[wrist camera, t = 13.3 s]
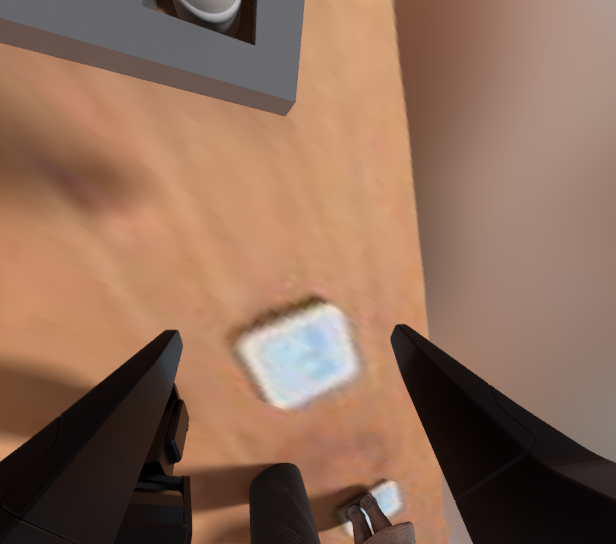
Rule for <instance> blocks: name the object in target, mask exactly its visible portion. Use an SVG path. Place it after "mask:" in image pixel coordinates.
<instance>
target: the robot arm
mask: <svg viewBox="0 0 616 544" xmlns="http://www.w3.org/2000/svg"><path fill="white" fill-rule="evenodd" d="M390 340H391V344H392V348H393V351H394V354H395V357H396V360H397V364H398V367H399V370H400V373H401V376H402V378H403V381H404V383H405V385H406V388H407V390H408V392H409V395H410V397H411V399H412V402H413V404H414V406H415V409H416V411H417V413H418V416H419V418H420V420H421V423H422V425H423V427H424V430H425V432H426V434H427V437H428V439H429V441H430V444H431V446H432V448H433V451H434V453H435V455H436V458H437V460H438V462H439V465H440V467H441V469H442V472H443V474H444V476H445V479H446V481H447V483H448V486H449V488H450V491H451V493H452V495H453V497H454V500H455V501H456V502H455V503H456V505H457V507H458V509H459V512H460V514H461V517H462V519H463V521H464V524H465V526H466V528H467V531H468V533H469V535H470V538H471V540H472V542H473V544H616V463H615V462H613V461H610V460H608V459H605V458H603V457H601V456H599V455H597V454H595V453H593V452H591V451H589V450H588V449H586V448H585V447H583V446H581V445H580V444H578V443H577V442H575V441H573V440H572V439H570V438H569V437H567V436H566V435H564V434H563V433H561V432H560V431H558V430H556V429H555V428H553V427H552V426H550V425H549V424H547V423H546V422H544V421H542V420H541V419H539V418H538V417H536V416H534V415H533V414H532V413H530V412H529V411H527V410H526V409H524V408H523V407H521V406H519V405H518V404H517V403H515V402H514V401H512V400H511V399H509V398H508V397H507V396H505V395H504V394H502V393H501V392H499V391H498V390H496V389H495V388H494V387H492V386H491V385H489V384H488V383H487V382H486V381H484V380H483V379H481V378H480V377H479V376H477V375H476V374H474V373H473V372H471V371H470V370H469V369H467V368H466V367H465V366H463V365H462V364H460V363H459V362H458V361H456V360H455V359H454V358H452V357H451V356H449V355H448V354H447V353H445V352H444V351H442V350H441V349H439V348H438V347H437V346H435V345H434V344H433V343H431V342H430V341H428V340H427V339H426V338H424V337H423V336H422V335H420V334H419V333H417V332H416V331H415V330H413V329H412V328H410V327H409V326H408V325H406V324H397V325H396V326H395V328H394V330H393V332H392V335H391V339H390ZM182 349H183V344H182V340H181V337H180V334H179V331H178V330H165V331H164V332H162V333H161V334H160V335H159V336H157V337H156V338H155V339H154V340H152V341H151V342H150V343H149V344H147V345H146V346H145V347H144V348H143V349H141V350H140V351H139V352H138V353H136V354H135V355H134V356H133V357H131V358H130V359H129V360H128V361H126V362H125V363H124V364H123V365H121V366H120V367H119V368H118V369H116V370H115V371H114V372H113V373H112V374H110V375H109V376H108V377H107V378H105V379H104V380H103V381H102V382H100V383H99V384H98V385H97V386H95V387H94V388H93V389H92V390H90V391H89V392H88V393H87V394H85V395H84V396H83V397H82V398H81V399H79V400H78V401H77V402H76V403H74V404H73V405H72V406H71V407H69V408H68V409H67V410H66V411H64V412H63V413H62V414H61V416H60V417H57V418H56V419H54V420H53V421H52V422H51V423H49V424H48V425H47V426H46V427H44V428H43V429H42V430H41V431H39V432H38V433H37V434H36V435H34V436H33V437H32V438H30V439H29V440H28V441H27V442H25V443H24V444H23V445H22V446H20V447H19V448H18V449H16V450H15V451H14V452H12V453H11V454H10V455H8V456H7V457H6V458H4V459H3V460H2V461H0V544H191V539H192V510H191V492H190V476H182V477H179V476H172V474H173V469H174V464H175V463H178V462H179V461H180V460H181V459H182V455H183V449H184V444H185V439H186V433H187V431H188V427H189V425H188V422H189V416H188V413H187V410H186V406H185V403H184V401H183V400H182V399H180V397H179V394H178V391H177V388H176V385H175V383H174V380H175V376H176V372H177V368H178V365H179V361H180V357H181V353H182Z"/></svg>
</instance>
